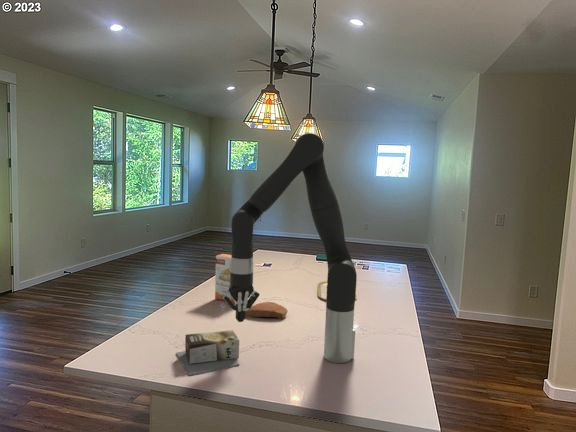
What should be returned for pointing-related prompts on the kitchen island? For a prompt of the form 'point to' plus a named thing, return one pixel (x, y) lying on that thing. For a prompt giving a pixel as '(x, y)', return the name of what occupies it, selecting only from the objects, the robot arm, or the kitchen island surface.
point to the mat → (204, 364)
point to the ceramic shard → (266, 310)
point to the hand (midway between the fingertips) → (240, 321)
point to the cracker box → (222, 276)
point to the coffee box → (211, 346)
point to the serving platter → (320, 289)
